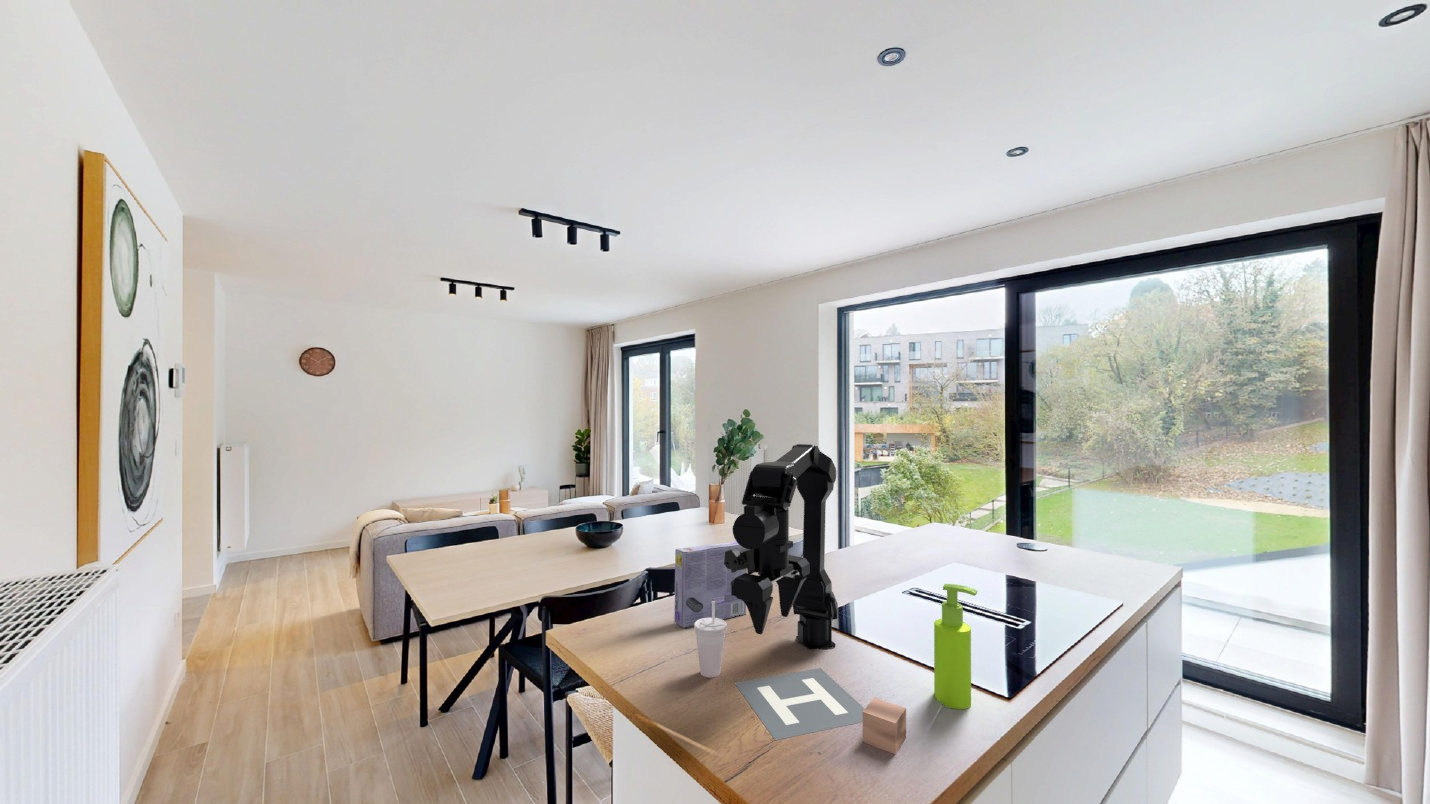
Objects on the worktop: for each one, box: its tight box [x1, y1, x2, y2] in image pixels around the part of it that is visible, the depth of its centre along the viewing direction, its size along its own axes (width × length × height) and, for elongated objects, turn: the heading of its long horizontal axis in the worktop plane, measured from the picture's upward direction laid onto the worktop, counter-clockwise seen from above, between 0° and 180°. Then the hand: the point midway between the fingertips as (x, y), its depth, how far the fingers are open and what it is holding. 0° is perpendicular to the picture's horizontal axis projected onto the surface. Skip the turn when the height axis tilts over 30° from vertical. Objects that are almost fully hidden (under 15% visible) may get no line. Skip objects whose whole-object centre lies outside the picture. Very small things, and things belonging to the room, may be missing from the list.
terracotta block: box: [862, 697, 907, 755], centre depth 81 cm, size 5×5×5 cm
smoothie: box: [693, 601, 728, 678], centre depth 102 cm, size 6×6×14 cm
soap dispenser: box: [933, 583, 979, 710], centre depth 93 cm, size 6×7×20 cm
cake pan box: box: [673, 541, 747, 629], centre depth 129 cm, size 19×5×18 cm, turn 121°
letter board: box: [733, 667, 866, 741], centre depth 92 cm, size 18×18×1 cm
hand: (772, 624), depth 94 cm, fingers open, 9 cm apart
